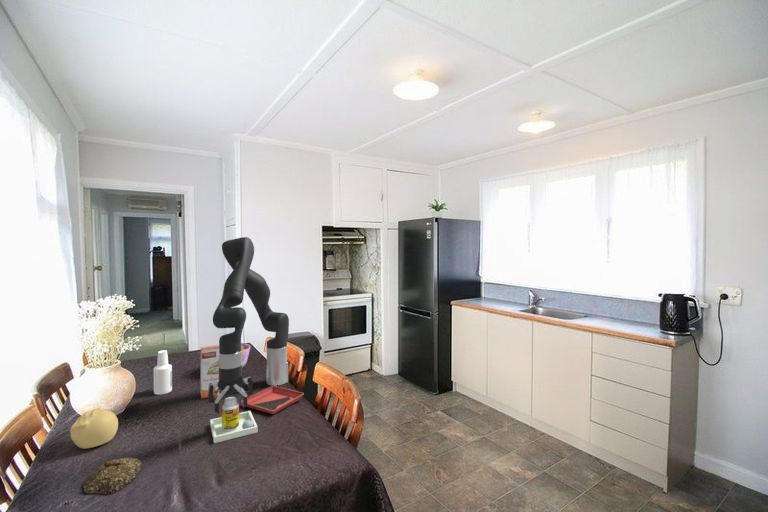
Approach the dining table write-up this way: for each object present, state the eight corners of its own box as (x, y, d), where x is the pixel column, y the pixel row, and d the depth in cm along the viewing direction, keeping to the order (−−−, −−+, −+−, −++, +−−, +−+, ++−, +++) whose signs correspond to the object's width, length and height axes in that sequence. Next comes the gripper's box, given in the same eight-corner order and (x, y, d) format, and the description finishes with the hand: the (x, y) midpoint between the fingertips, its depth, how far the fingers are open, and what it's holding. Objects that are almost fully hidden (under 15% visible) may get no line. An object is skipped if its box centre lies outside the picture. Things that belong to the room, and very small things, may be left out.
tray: (250, 417, 132) (250, 410, 132) (257, 433, 121) (257, 426, 121) (210, 426, 125) (210, 419, 125) (214, 445, 114) (214, 437, 114)
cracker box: (201, 399, 147) (201, 350, 147) (200, 394, 152) (200, 346, 152) (237, 392, 155) (237, 345, 154) (235, 387, 160) (234, 342, 159)
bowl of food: (198, 374, 175) (198, 351, 175) (227, 362, 194) (227, 341, 194) (232, 379, 169) (232, 355, 169) (258, 366, 188) (258, 344, 188)
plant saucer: (239, 408, 140) (239, 400, 140) (273, 392, 156) (273, 384, 156) (273, 419, 132) (273, 410, 132) (304, 400, 148) (304, 393, 148)
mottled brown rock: (149, 466, 103) (149, 449, 103) (119, 495, 91) (119, 477, 91) (105, 466, 103) (105, 449, 103) (69, 496, 91) (68, 477, 91)
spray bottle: (175, 388, 158) (175, 349, 157) (164, 395, 151) (164, 353, 150) (161, 388, 158) (161, 348, 158) (149, 394, 152) (149, 353, 151)
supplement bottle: (223, 433, 120) (223, 403, 119) (220, 426, 124) (220, 397, 124) (240, 428, 123) (240, 400, 123) (237, 422, 127) (237, 394, 127)
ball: (251, 427, 124) (251, 417, 124) (253, 431, 121) (253, 421, 121) (241, 429, 122) (241, 419, 122) (243, 434, 119) (243, 424, 119)
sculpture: (80, 437, 118) (79, 405, 117) (123, 431, 122) (122, 400, 122) (63, 456, 107) (62, 421, 107) (110, 449, 111) (110, 415, 111)
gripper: (249, 357, 130) (250, 400, 130) (206, 364, 122) (207, 410, 123) (253, 363, 123) (254, 409, 124) (208, 371, 116) (209, 419, 117)
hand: (231, 409), depth 123 cm, fingers open, 8 cm apart
